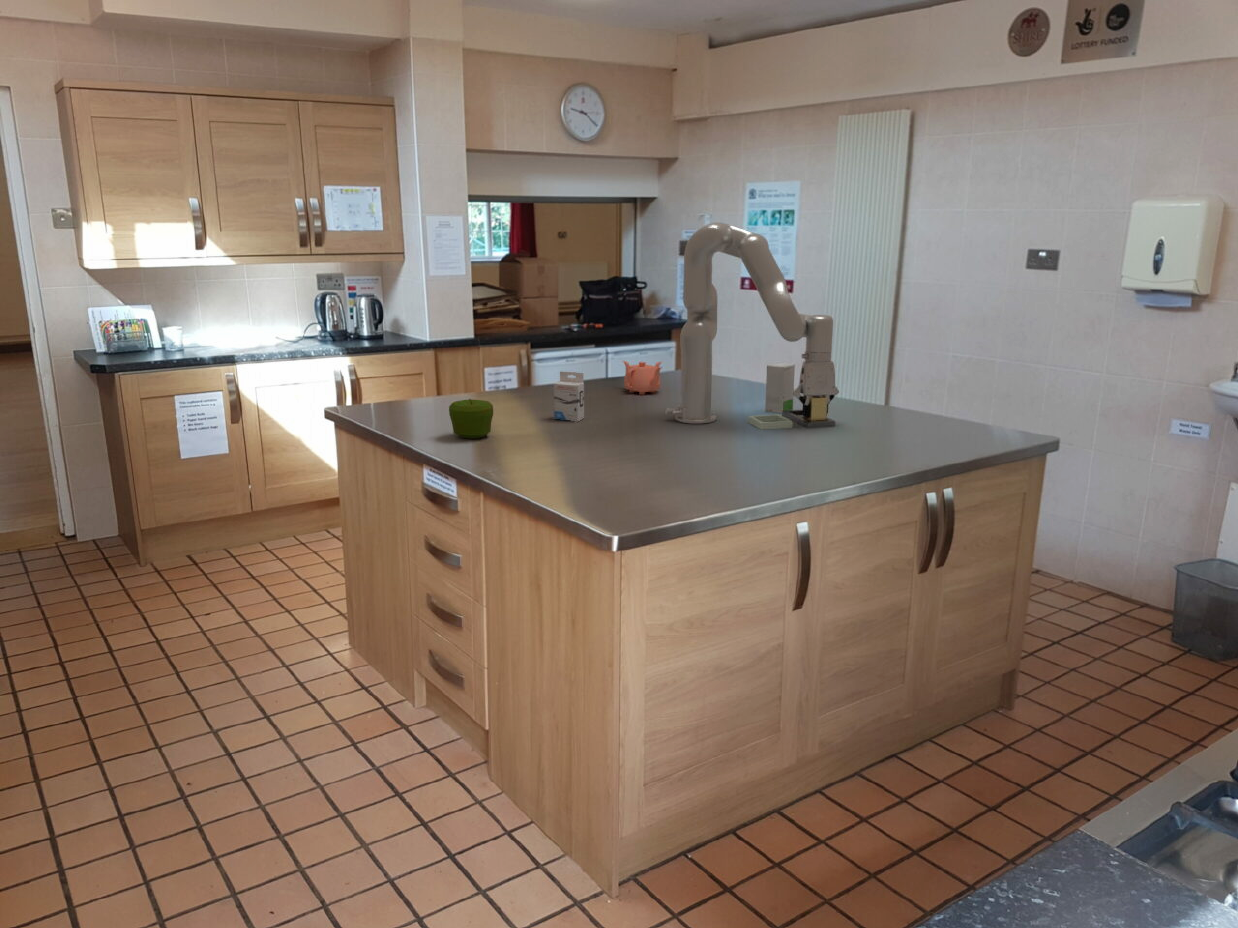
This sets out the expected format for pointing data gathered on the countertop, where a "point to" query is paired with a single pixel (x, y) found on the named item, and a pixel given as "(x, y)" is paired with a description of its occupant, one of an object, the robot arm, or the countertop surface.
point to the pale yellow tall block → (817, 408)
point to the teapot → (642, 378)
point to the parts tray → (770, 421)
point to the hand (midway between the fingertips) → (814, 416)
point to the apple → (471, 418)
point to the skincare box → (779, 387)
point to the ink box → (569, 397)
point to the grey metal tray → (798, 418)
